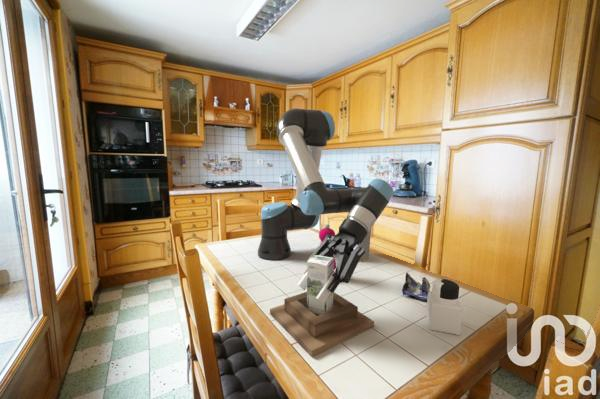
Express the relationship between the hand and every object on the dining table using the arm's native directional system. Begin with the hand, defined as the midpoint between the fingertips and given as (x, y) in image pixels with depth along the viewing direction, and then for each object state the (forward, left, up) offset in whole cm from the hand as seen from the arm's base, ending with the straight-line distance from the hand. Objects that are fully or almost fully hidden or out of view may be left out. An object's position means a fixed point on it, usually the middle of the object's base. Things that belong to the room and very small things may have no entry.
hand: (310, 293), depth 70 cm
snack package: (-5, +40, -9) cm, 41 cm away
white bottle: (+11, +33, -9) cm, 36 cm away
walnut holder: (-1, +3, -8) cm, 9 cm away
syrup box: (-1, +3, -6) cm, 7 cm away
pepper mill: (-26, +16, -9) cm, 32 cm away
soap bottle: (-41, +37, -9) cm, 56 cm away
